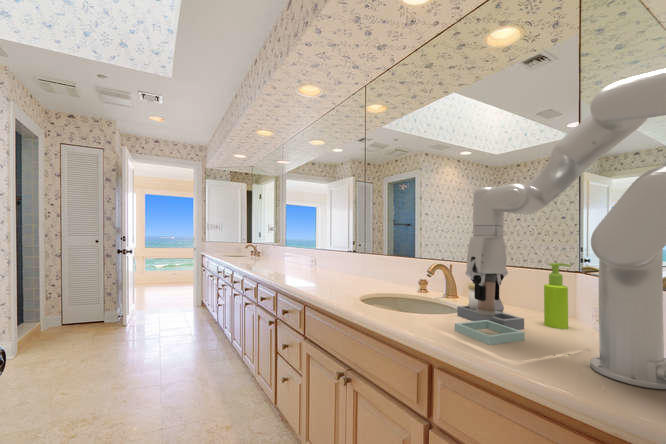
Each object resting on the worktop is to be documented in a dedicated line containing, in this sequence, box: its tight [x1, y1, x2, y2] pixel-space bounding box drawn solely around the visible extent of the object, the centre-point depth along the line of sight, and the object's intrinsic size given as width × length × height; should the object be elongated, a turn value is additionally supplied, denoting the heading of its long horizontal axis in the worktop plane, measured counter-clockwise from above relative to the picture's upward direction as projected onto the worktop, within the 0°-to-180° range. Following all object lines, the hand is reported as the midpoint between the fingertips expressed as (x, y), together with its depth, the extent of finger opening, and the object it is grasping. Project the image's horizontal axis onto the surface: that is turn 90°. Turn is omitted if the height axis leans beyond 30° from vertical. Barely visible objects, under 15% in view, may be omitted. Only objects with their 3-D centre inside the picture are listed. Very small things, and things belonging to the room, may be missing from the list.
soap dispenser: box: [543, 262, 572, 330], centre depth 94 cm, size 6×7×20 cm
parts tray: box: [454, 320, 526, 346], centre depth 84 cm, size 12×12×3 cm
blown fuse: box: [477, 274, 497, 317], centre depth 84 cm, size 5×5×11 cm
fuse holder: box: [456, 305, 525, 331], centre depth 97 cm, size 18×8×4 cm, turn 21°
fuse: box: [467, 282, 478, 311], centre depth 102 cm, size 5×5×11 cm
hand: (486, 298), depth 84 cm, fingers closed on blown fuse, 4 cm apart
